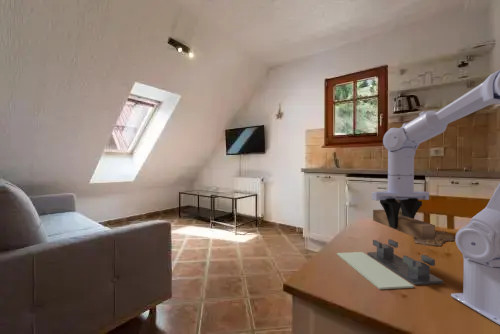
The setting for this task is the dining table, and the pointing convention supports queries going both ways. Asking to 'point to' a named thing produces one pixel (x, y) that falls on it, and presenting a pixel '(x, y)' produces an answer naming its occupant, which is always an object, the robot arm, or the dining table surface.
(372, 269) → the mat
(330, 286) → the dining table surface
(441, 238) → the wooden fragment
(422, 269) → the rack
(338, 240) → the dining table surface
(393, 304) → the dining table surface
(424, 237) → the rail
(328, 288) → the dining table surface
